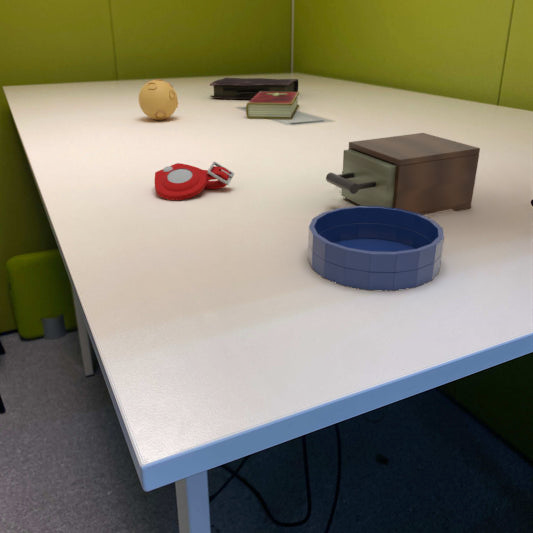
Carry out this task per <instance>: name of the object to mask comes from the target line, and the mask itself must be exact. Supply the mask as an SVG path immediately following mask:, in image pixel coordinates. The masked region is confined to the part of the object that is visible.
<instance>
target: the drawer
mask: <svg viewBox="0 0 533 533" xmlns="http://www.w3.org/2000/svg"><path fill="white" fill-rule="evenodd" d="M342 155H343V157H342V173H340V174H336V173H334V172H328V173H327V174H326V176H325V180H326V182H327V183H329V184H331V185H333V186H335V187H337V188H339V189H341V197H342V198H345V199H347V200H349V201H351V202H353V203H355V204H357V205H358V206H382V207H390V208H393V197H394V187H395V176H396V166H395V165H392V164H390V163H387V162H388V161H385V160H382V159H379V158H377V157H374V156H371V155H368V154H366V153H363V152H361V153H360V152H357V151H354V150H351V149H349V148H348V149H343V154H342Z"/></svg>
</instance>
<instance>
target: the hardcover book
mask: <svg viewBox="0 0 533 533" xmlns="http://www.w3.org/2000/svg"><path fill="white" fill-rule="evenodd" d="M299 94H300V92H299V91H298V92H259V93H258V94H256V95H255V96H254V97H253V98H252V99H249V101H248V102H246V106H245V115H246V118H247V120H248V119H251V120H252V119H253V120H254V119H255V120H260V119H261V120H264V119H265V120H293V119H294V116H295V115H296V112H297V110H298V108H299V107H300V104H298V100H299V99H298V96H299Z"/></svg>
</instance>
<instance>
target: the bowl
mask: <svg viewBox="0 0 533 533" xmlns="http://www.w3.org/2000/svg"><path fill="white" fill-rule="evenodd" d="M444 240H445V232H444V228H443V227H442V226H441V225H440V224H439V223H438V222H437V221H435V220H434V219H432V218H430V217H427V216H425V215H421V214H418V213H415V212H411V211H407V210H403V209H398V208H390V207H382V206H361V205H354V206H344V207H343V206H342V207H338V208H334V209H329V210H327V211H326V210H325V211H323V212H321V213H319V214H318V215H316V216H314V217H313V218H312V219H311V221H310V223H309V226H308V247H307V253H308V254H307V261H308V262H309V266H310V267H311V269H312V270H313V271H314V272H315V273H316V274H317V275H318V276H320V275H321V276H320V277H322V278H323V277H324V278H323V279H325V278H326V280H327V279H328V280H327V281H329V280H330V281H329V282H332V281H333V282H332V283H334V282H336V283H335V284H337V285H340V284H341V286H343V285H344V286H343V287H347V286H349V287H348V288H351V287H352V289H357V290H363V289H365V290H364V291H373V290H382V291H381V292H392V291H393V290H394V291H400V290H399V289H404V290H407V289H406V288H409V289H413V287H414V288H417V287H420V286H423V285H425V284H428V283H429V282H431V281H433V279H435V278H436V276H438V274H439V273H440V269H441V264H442V254H443V249H444ZM424 283H425V284H424ZM358 288H359V289H358ZM385 290H387V291H385ZM390 290H392V291H390Z"/></svg>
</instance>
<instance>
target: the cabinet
mask: <svg viewBox="0 0 533 533" xmlns="http://www.w3.org/2000/svg"><path fill="white" fill-rule="evenodd" d="M348 149H351V150H354V151H357V152H360V153H361V152H363V153H366V154H368V155H371V156H374V157H377V158H379V159H382V160H385V161H388V162H390V163H393V164H396V176H395V187H394V197H393V208H398V209H403V210H407V211H411V212H415V213H418V214H421V215H423V216H425V215H430V214H434V213H440V212H444V211H450V210H452V211H455V212H459V211H462V210H468V209H471V208H472V202H473V196H474V191H475V190H474V189H475V184H476V177H477V172H478V171H477V170H478V166H479V158H480V151H481V148H480V147H477V146H473V145H470V144H467V143H462V142H458V141H456V140H451V139H448V138H444V137H440V136H437V135H433V134H429V133H425V132H419V133H410V134H402V135H394V136H388V137H379V138H371V139H362V140H355V141H348Z"/></svg>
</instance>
